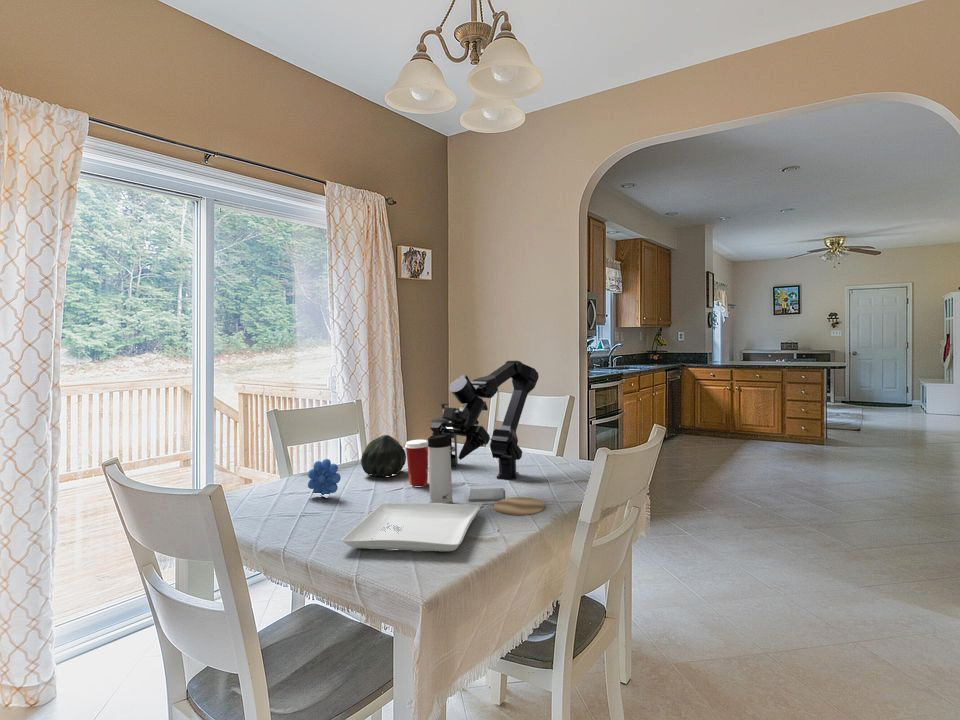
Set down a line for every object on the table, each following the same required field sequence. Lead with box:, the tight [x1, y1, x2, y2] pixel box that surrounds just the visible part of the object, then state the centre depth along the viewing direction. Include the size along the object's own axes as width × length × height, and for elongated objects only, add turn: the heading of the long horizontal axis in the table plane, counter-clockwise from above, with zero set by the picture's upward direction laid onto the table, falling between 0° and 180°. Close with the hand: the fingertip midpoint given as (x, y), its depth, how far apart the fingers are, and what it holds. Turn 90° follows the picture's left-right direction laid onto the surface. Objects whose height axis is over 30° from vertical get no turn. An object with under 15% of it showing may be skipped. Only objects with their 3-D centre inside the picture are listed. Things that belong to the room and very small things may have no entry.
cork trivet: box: [493, 496, 546, 516], centre depth 145 cm, size 14×14×1 cm
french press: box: [431, 402, 459, 469], centre depth 193 cm, size 12×9×23 cm
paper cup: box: [404, 439, 429, 487], centre depth 170 cm, size 8×8×14 cm
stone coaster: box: [468, 487, 505, 502], centre depth 156 cm, size 10×10×1 cm
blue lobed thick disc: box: [307, 458, 341, 495], centre depth 160 cm, size 12×7×12 cm, turn 69°
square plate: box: [340, 502, 481, 552], centre depth 128 cm, size 27×27×4 cm
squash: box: [360, 434, 407, 477], centre depth 184 cm, size 14×15×15 cm
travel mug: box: [427, 433, 453, 504], centre depth 150 cm, size 6×7×20 cm
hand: (447, 456), depth 152 cm, fingers open, 9 cm apart
